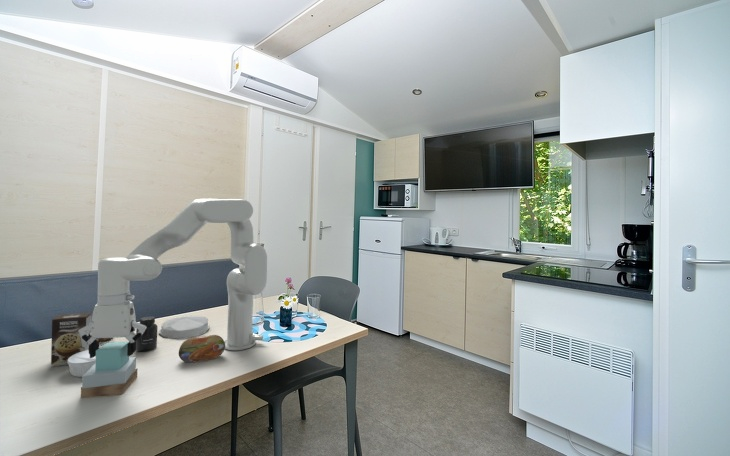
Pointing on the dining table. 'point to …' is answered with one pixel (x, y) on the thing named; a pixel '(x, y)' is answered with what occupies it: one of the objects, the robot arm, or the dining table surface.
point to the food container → (184, 327)
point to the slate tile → (108, 375)
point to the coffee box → (68, 336)
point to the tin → (201, 348)
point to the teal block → (111, 356)
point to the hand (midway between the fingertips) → (112, 355)
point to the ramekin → (80, 363)
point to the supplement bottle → (147, 335)
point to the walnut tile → (108, 388)
